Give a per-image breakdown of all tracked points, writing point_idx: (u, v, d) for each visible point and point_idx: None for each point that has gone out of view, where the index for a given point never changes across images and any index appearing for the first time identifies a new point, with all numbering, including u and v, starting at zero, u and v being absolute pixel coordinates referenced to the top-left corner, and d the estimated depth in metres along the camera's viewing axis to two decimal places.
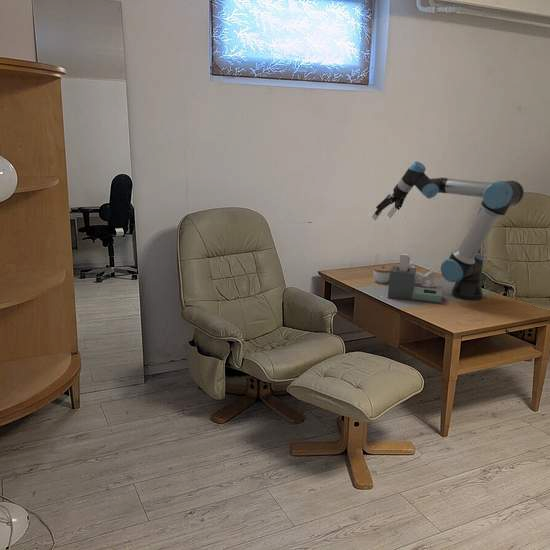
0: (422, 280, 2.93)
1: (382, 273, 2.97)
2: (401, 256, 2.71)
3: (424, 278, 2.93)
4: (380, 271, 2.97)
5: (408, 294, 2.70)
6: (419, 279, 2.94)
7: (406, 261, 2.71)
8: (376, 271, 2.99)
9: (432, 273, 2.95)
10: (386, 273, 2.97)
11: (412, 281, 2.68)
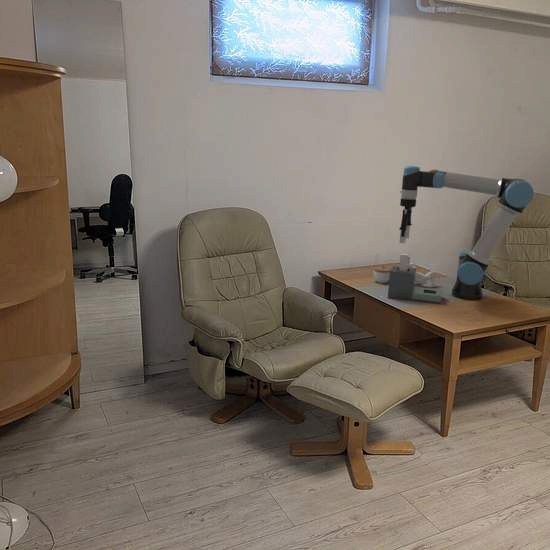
0: (423, 280, 2.93)
1: (382, 273, 2.97)
2: (401, 256, 2.71)
3: (425, 278, 2.93)
4: (380, 271, 2.97)
5: (408, 294, 2.70)
6: (420, 279, 2.93)
7: (406, 261, 2.71)
8: (376, 271, 2.99)
9: (433, 273, 2.95)
10: (386, 273, 2.97)
11: (412, 281, 2.68)
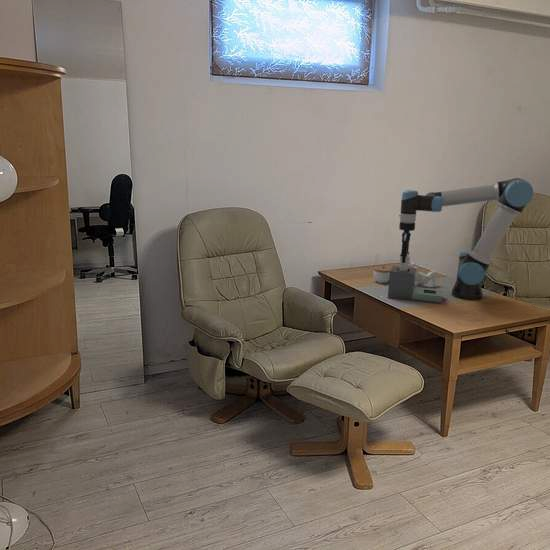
0: (425, 280, 2.93)
1: (382, 273, 2.97)
2: None
3: (427, 278, 2.93)
4: (380, 271, 2.97)
5: (408, 294, 2.70)
6: (422, 279, 2.93)
7: None
8: (376, 271, 2.99)
9: (434, 273, 2.96)
10: (386, 273, 2.97)
11: (412, 281, 2.68)
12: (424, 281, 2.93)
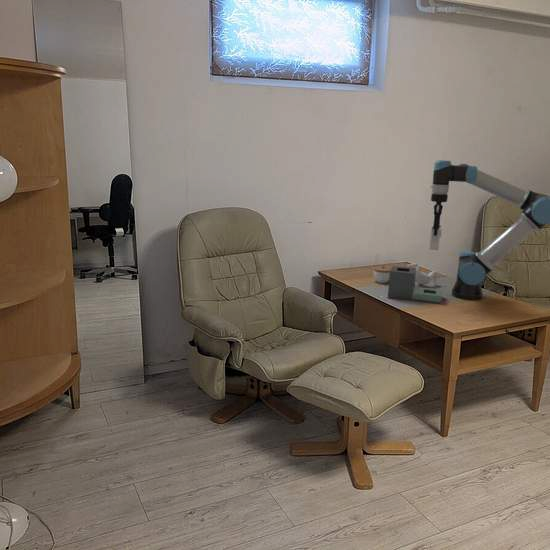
0: (427, 280, 2.93)
1: (382, 273, 2.97)
2: None
3: (429, 278, 2.93)
4: (380, 271, 2.97)
5: (408, 294, 2.70)
6: (424, 279, 2.94)
7: (438, 234, 2.62)
8: (376, 271, 2.99)
9: (435, 272, 2.96)
10: (386, 273, 2.97)
11: (412, 281, 2.68)
12: (426, 281, 2.94)
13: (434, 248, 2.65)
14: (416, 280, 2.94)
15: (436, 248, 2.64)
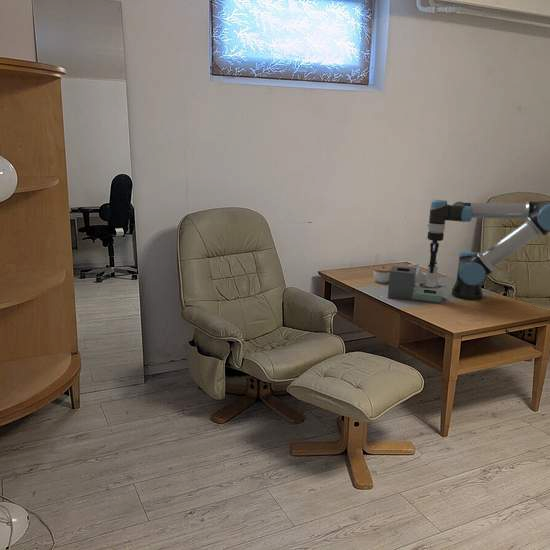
0: None
1: (382, 273, 2.97)
2: None
3: None
4: (380, 271, 2.97)
5: (408, 294, 2.70)
6: (425, 279, 2.93)
7: None
8: (376, 271, 2.99)
9: None
10: (386, 273, 2.97)
11: (412, 281, 2.68)
12: None
13: (430, 285, 2.69)
14: (417, 280, 2.94)
15: (432, 285, 2.69)
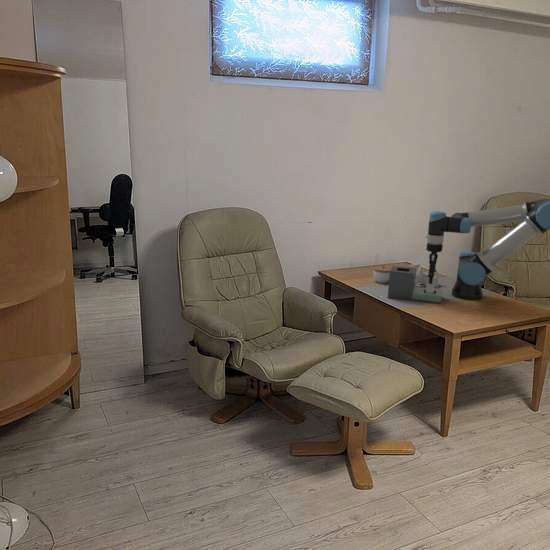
0: None
1: (382, 273, 2.97)
2: None
3: None
4: (380, 271, 2.97)
5: (408, 294, 2.70)
6: (426, 279, 2.94)
7: (433, 283, 2.69)
8: (376, 271, 2.99)
9: (436, 272, 2.97)
10: (386, 273, 2.97)
11: (412, 281, 2.68)
12: None
13: None
14: (419, 280, 2.94)
15: None
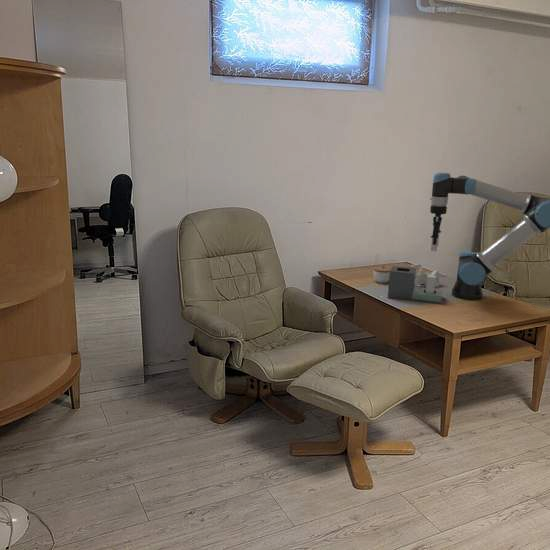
0: None
1: (382, 273, 2.97)
2: (428, 278, 2.69)
3: None
4: (380, 271, 2.97)
5: (408, 294, 2.70)
6: None
7: (433, 283, 2.69)
8: (376, 271, 2.99)
9: (437, 272, 2.98)
10: (386, 273, 2.97)
11: (412, 281, 2.68)
12: None
13: None
14: (420, 280, 2.94)
15: None
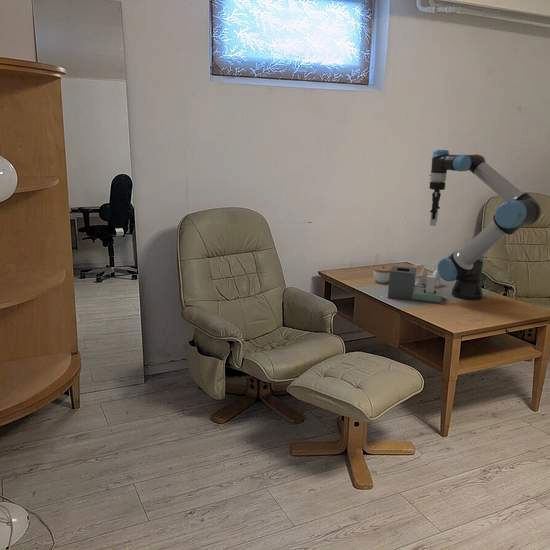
0: None
1: (382, 273, 2.97)
2: (428, 278, 2.69)
3: None
4: (380, 271, 2.97)
5: (408, 294, 2.70)
6: None
7: (433, 283, 2.69)
8: (376, 271, 2.99)
9: None
10: (386, 273, 2.97)
11: (412, 281, 2.68)
12: None
13: None
14: (423, 281, 2.93)
15: None
